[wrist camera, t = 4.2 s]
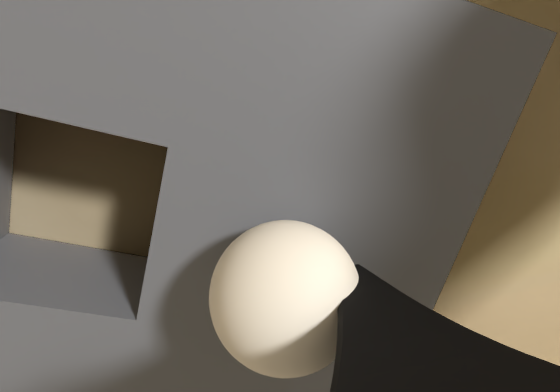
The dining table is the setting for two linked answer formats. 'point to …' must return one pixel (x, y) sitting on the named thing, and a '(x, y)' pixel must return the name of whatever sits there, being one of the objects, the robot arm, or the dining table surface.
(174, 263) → the deck
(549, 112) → the dining table surface
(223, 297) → the ball
